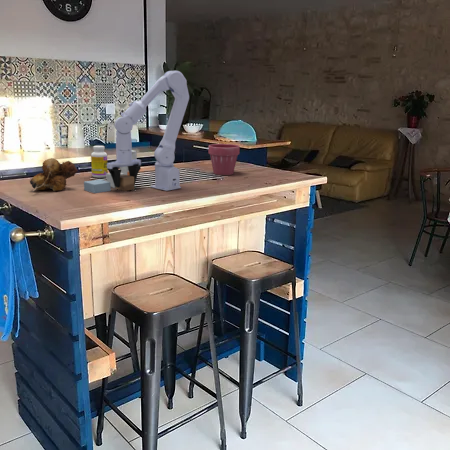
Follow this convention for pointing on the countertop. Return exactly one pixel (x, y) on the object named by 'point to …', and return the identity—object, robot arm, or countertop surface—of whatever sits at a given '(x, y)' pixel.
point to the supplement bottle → (99, 162)
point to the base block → (97, 186)
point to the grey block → (109, 179)
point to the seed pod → (53, 175)
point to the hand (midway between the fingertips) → (124, 185)
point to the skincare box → (125, 169)
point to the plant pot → (223, 158)
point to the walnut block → (126, 183)
